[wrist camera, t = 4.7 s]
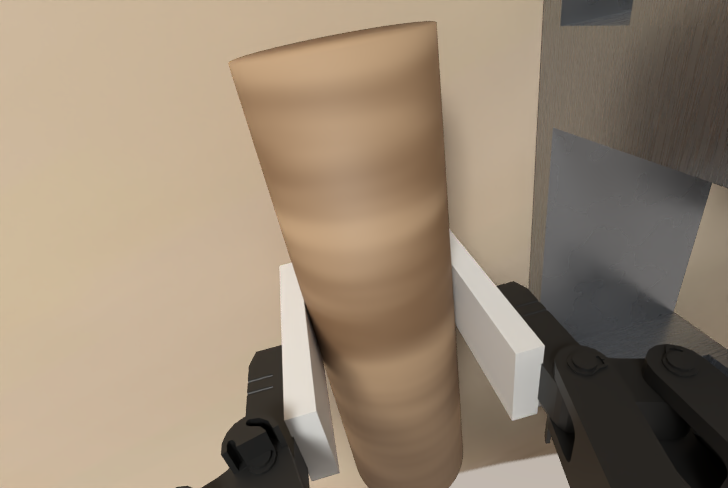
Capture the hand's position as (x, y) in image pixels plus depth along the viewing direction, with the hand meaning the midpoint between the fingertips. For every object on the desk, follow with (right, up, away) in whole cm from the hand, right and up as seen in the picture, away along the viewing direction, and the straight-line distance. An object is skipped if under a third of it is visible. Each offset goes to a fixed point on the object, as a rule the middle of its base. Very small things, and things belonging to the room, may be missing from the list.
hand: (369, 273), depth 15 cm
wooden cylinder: (0, 0, +1) cm, 1 cm away
